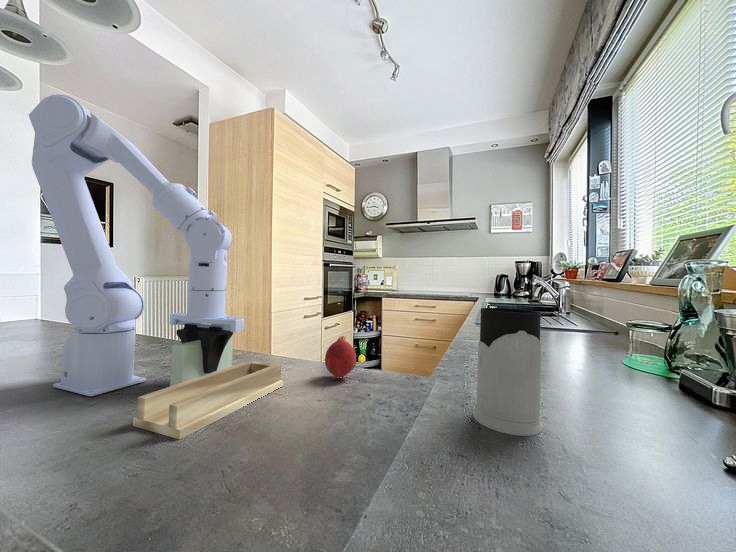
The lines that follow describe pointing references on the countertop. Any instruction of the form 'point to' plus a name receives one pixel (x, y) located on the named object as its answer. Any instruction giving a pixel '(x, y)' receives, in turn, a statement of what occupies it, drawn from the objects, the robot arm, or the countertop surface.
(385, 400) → the countertop surface
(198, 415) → the floor track
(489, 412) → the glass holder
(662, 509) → the countertop surface
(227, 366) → the door panel
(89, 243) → the robot arm
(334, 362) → the onion
